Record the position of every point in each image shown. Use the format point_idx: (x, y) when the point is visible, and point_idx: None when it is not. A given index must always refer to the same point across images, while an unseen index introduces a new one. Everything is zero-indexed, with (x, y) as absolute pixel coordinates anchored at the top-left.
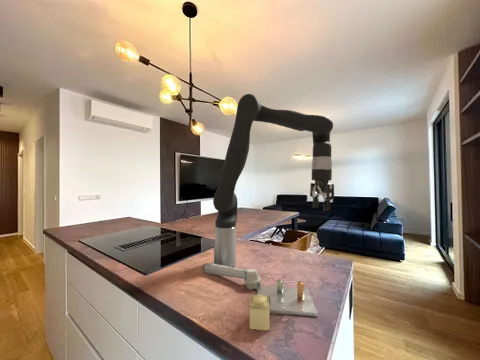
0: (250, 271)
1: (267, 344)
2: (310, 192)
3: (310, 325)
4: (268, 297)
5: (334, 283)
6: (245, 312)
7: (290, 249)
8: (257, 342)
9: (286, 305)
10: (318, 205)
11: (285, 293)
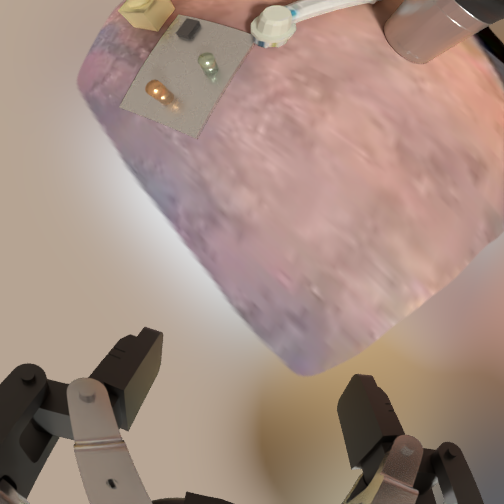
0: (271, 9)
1: (117, 22)
2: (466, 474)
3: (113, 86)
4: (139, 12)
5: (206, 237)
6: (188, 3)
7: (444, 283)
8: None
9: (160, 62)
10: (340, 418)
11: (198, 76)
